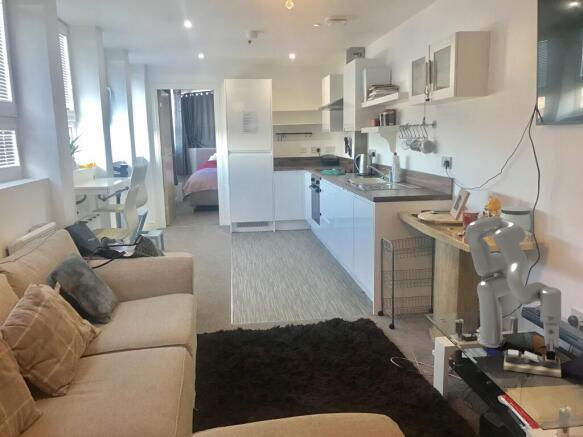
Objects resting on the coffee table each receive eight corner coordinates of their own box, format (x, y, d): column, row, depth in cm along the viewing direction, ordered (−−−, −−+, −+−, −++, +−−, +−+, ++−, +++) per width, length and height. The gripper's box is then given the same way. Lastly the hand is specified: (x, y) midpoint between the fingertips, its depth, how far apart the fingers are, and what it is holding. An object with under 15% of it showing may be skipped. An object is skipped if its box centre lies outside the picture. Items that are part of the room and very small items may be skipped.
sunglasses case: (556, 359, 197) (547, 346, 198) (541, 365, 200) (532, 353, 201) (552, 341, 213) (543, 329, 214) (537, 347, 216) (529, 335, 217)
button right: (545, 365, 190) (545, 360, 190) (544, 360, 193) (544, 355, 193) (556, 366, 188) (556, 361, 188) (555, 361, 192) (555, 357, 191)
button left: (508, 358, 196) (507, 353, 196) (508, 353, 200) (508, 349, 199) (518, 359, 194) (518, 355, 194) (518, 355, 198) (518, 350, 198)
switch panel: (503, 369, 194) (503, 359, 193) (505, 356, 205) (505, 346, 204) (561, 377, 184) (561, 367, 184) (559, 362, 195) (559, 353, 194)
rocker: (524, 357, 193) (525, 354, 193) (524, 352, 197) (525, 350, 196) (538, 362, 191) (539, 360, 191) (538, 358, 194) (539, 355, 194)
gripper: (562, 326, 179) (562, 369, 182) (560, 311, 192) (560, 351, 195) (540, 324, 182) (540, 366, 186) (539, 309, 195) (540, 349, 198)
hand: (550, 358), depth 190 cm, fingers closed
